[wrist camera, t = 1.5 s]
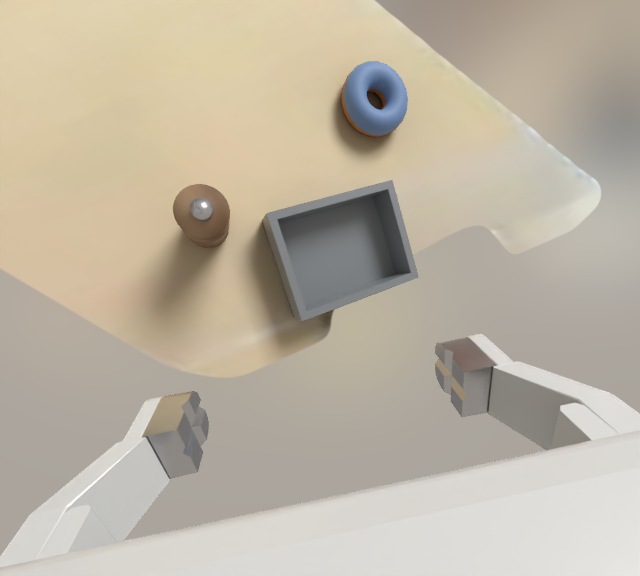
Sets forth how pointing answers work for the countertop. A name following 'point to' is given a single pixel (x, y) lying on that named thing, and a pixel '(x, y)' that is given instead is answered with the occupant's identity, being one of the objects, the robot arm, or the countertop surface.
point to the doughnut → (386, 87)
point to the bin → (340, 249)
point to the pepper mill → (202, 214)
